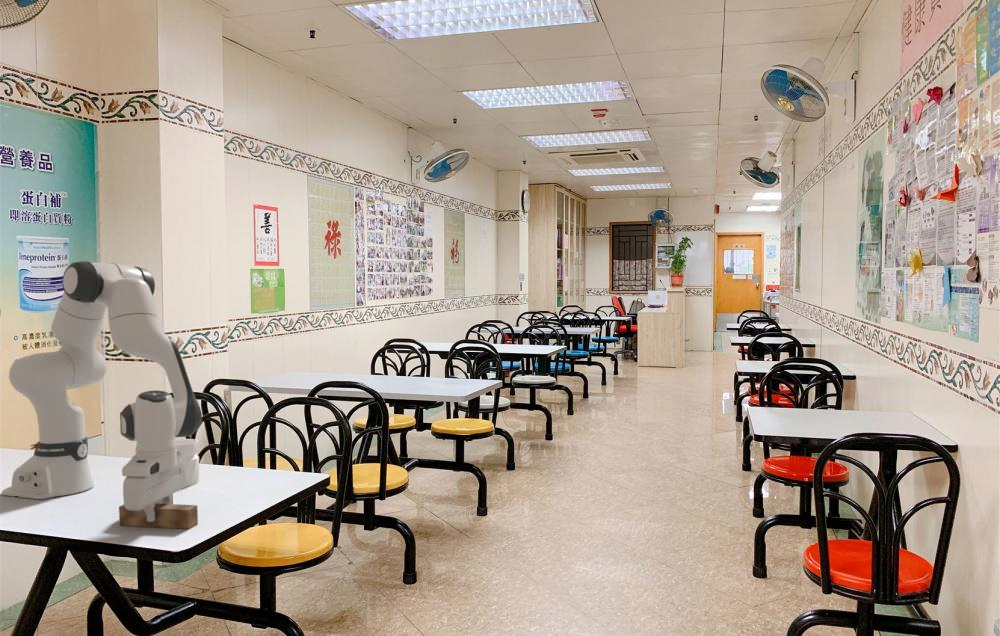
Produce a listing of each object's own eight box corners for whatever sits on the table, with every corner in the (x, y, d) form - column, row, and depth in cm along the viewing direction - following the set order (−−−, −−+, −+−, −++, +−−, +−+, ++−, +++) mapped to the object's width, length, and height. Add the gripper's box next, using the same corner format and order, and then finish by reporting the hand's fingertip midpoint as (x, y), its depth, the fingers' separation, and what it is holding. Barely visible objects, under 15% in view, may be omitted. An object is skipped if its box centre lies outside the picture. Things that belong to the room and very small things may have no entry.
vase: (191, 477, 212) (189, 437, 212) (205, 482, 206) (204, 441, 206) (161, 483, 206) (159, 442, 205) (175, 489, 200) (173, 447, 199)
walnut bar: (119, 525, 170) (118, 506, 170) (129, 520, 174) (128, 502, 174) (189, 528, 168) (188, 509, 167) (197, 523, 171) (197, 505, 171)
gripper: (169, 449, 180) (171, 503, 181) (116, 471, 160) (118, 531, 161) (192, 449, 180) (194, 504, 181) (143, 471, 159) (145, 532, 160)
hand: (158, 517), depth 171 cm, fingers closed on walnut bar, 4 cm apart
